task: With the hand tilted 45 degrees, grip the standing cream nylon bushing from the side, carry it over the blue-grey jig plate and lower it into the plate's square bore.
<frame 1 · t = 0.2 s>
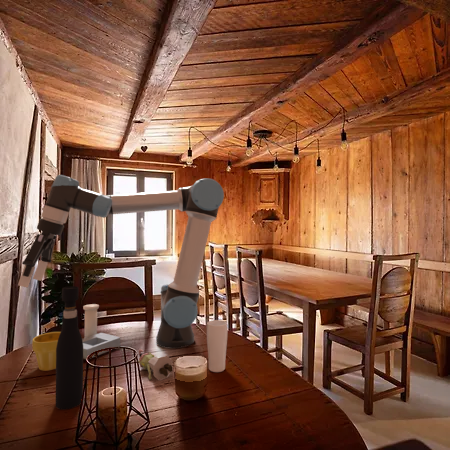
hand: (30, 282, 106), 28 cm above the table, tool tilted 20°, fingers open, 13 cm apart
jig: (94, 350, 120), on the table
drinking glass: (216, 370, 105), on the table
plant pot: (50, 367, 106), on the table
figurine: (156, 373, 102), on the table
bushing: (90, 340, 131), on the table
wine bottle: (69, 403, 84), on the table
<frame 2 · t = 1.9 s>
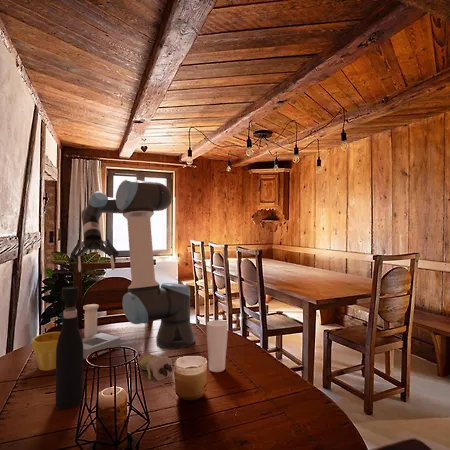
hand: (97, 269, 140), 28 cm above the table, tool tilted 45°, fingers open, 13 cm apart
nothing on the table moved.
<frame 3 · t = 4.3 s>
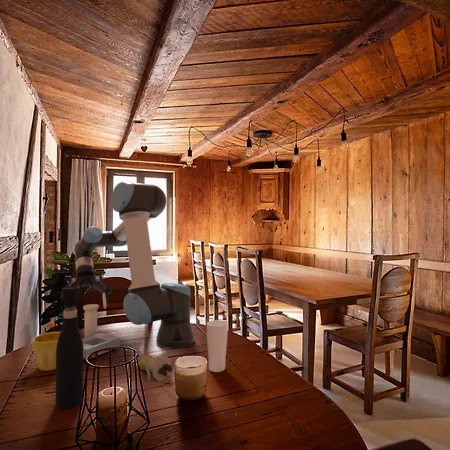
hand: (88, 309, 136), 12 cm above the table, tool tilted 45°, fingers open, 13 cm apart
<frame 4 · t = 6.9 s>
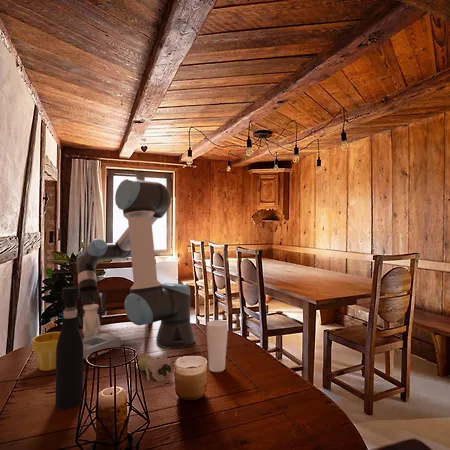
hand: (92, 331, 128), 5 cm above the table, tool tilted 45°, fingers closed on bushing, 4 cm apart
bushing: (90, 340, 131), on the table, touching gripper
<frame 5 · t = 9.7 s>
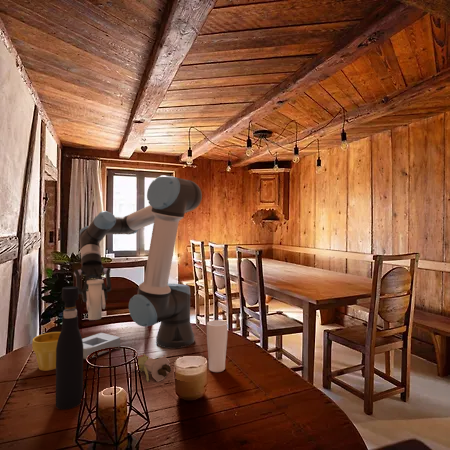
hand: (96, 307, 117), 17 cm above the table, tool tilted 45°, fingers closed on bushing, 4 cm apart
bushing: (94, 318, 120), point 12 cm above the table, touching gripper
when the fingers open (6 cm above the table, at t = 12.4 s): bushing stays where it is, resting in jig.
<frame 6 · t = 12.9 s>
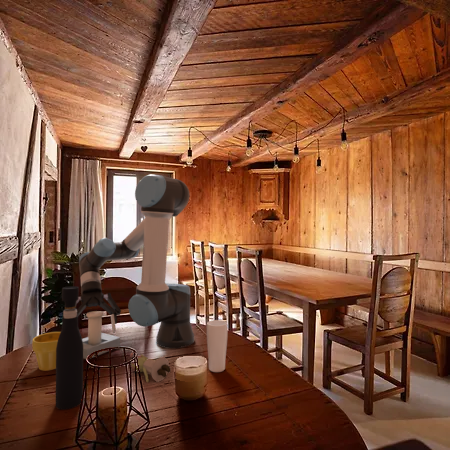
hand: (95, 334, 118), 7 cm above the table, tool tilted 45°, fingers open, 12 cm apart
bushing: (94, 350, 120), resting in jig
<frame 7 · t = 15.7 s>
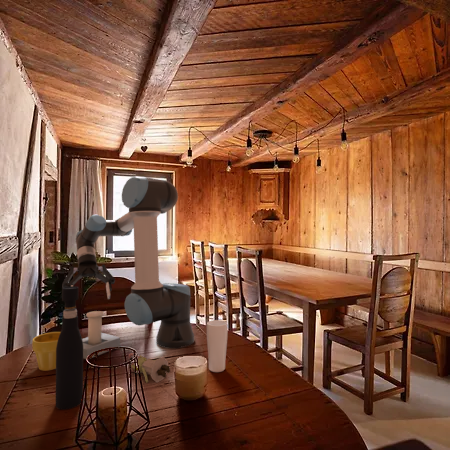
hand: (91, 298, 130), 17 cm above the table, tool tilted 45°, fingers open, 13 cm apart
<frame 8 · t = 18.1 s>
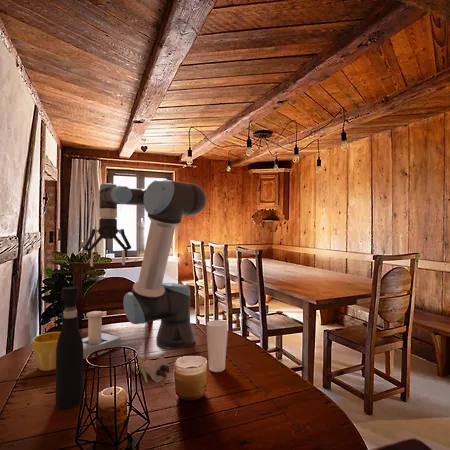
hand: (107, 265, 146), 29 cm above the table, tool pointing down, fingers open, 13 cm apart
at the end: bushing 0.0 cm off-centre on the jig, point 0.0 cm above the jig's base; bushing tilted 0°; the gripper is holding nothing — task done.
